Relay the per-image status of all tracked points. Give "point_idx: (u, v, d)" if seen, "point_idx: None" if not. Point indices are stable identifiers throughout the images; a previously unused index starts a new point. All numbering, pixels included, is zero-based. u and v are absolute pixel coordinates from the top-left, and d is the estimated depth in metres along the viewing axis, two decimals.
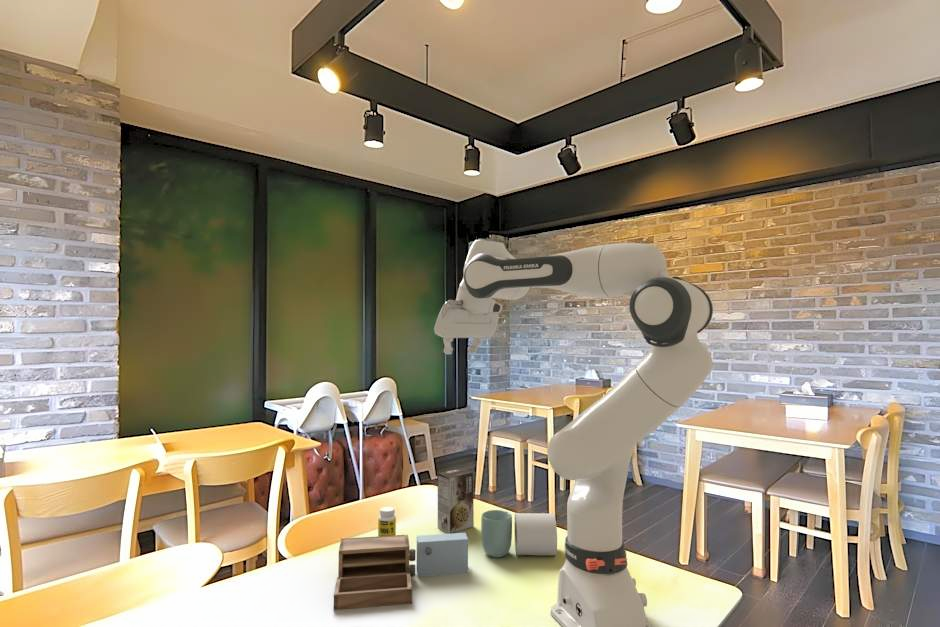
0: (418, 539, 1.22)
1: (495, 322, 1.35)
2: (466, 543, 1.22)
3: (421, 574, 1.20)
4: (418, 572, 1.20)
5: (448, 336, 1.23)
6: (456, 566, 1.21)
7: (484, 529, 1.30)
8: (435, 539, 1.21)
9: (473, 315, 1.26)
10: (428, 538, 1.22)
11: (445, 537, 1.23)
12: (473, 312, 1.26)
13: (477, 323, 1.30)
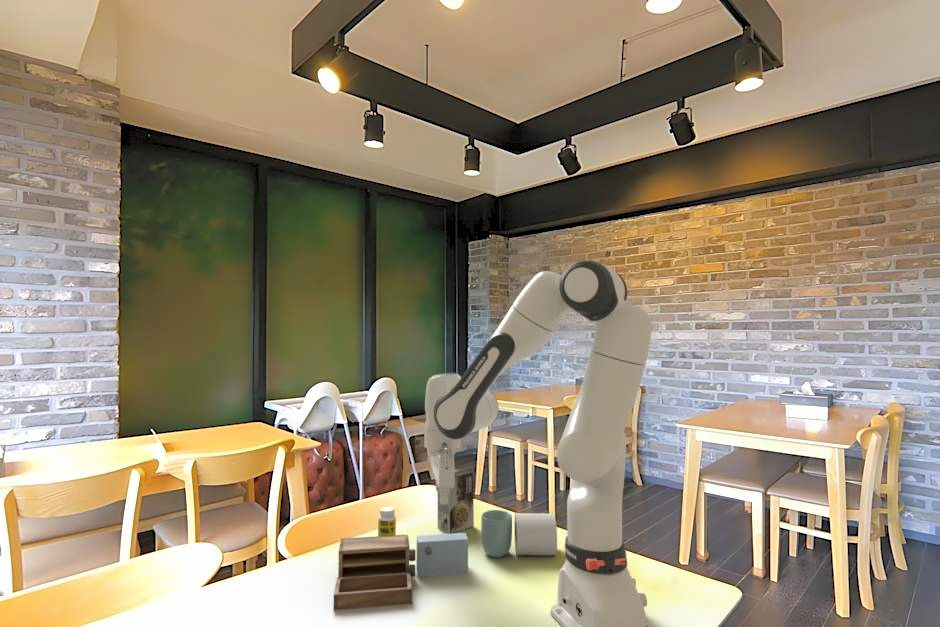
0: (418, 539, 1.22)
1: None
2: (466, 543, 1.22)
3: (421, 574, 1.20)
4: (418, 572, 1.20)
5: None
6: (456, 566, 1.21)
7: (484, 529, 1.30)
8: (435, 539, 1.21)
9: (453, 453, 1.22)
10: (428, 538, 1.22)
11: (445, 537, 1.23)
12: (453, 450, 1.22)
13: None
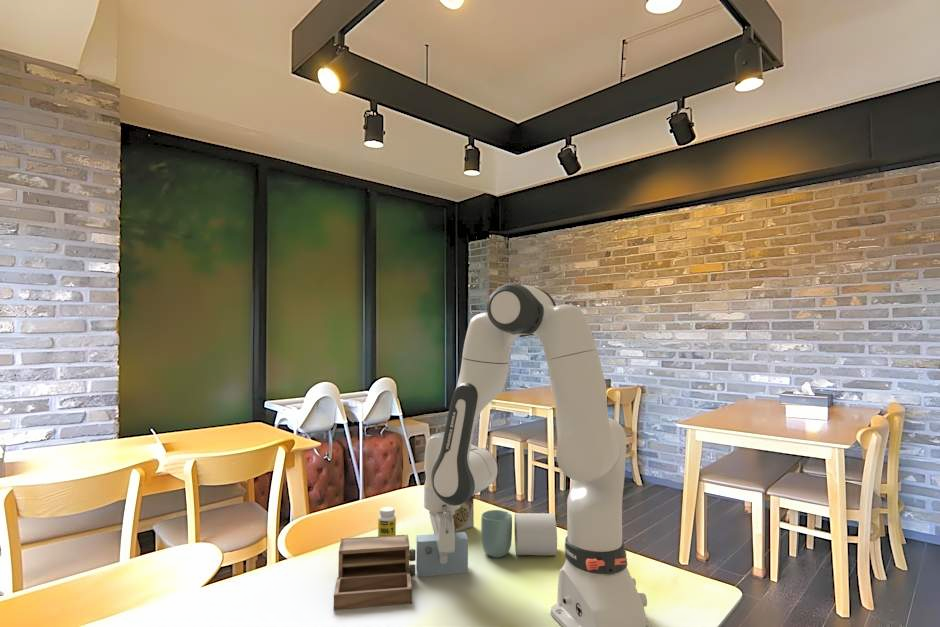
0: (418, 539, 1.22)
1: None
2: (466, 543, 1.22)
3: (421, 574, 1.20)
4: (418, 572, 1.20)
5: None
6: (456, 566, 1.21)
7: (484, 529, 1.30)
8: (435, 539, 1.21)
9: (453, 513, 1.22)
10: (428, 538, 1.22)
11: None
12: (453, 510, 1.22)
13: None
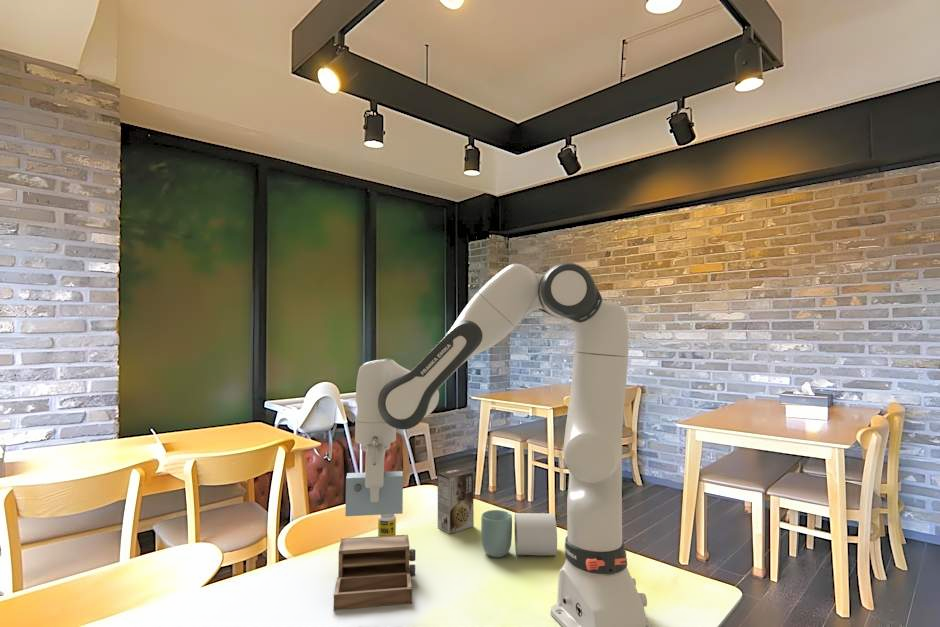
0: (347, 476, 1.10)
1: None
2: (401, 480, 1.10)
3: (349, 513, 1.08)
4: (346, 511, 1.08)
5: None
6: (389, 506, 1.10)
7: (484, 529, 1.30)
8: None
9: (387, 447, 1.10)
10: (359, 475, 1.10)
11: None
12: (387, 444, 1.10)
13: None
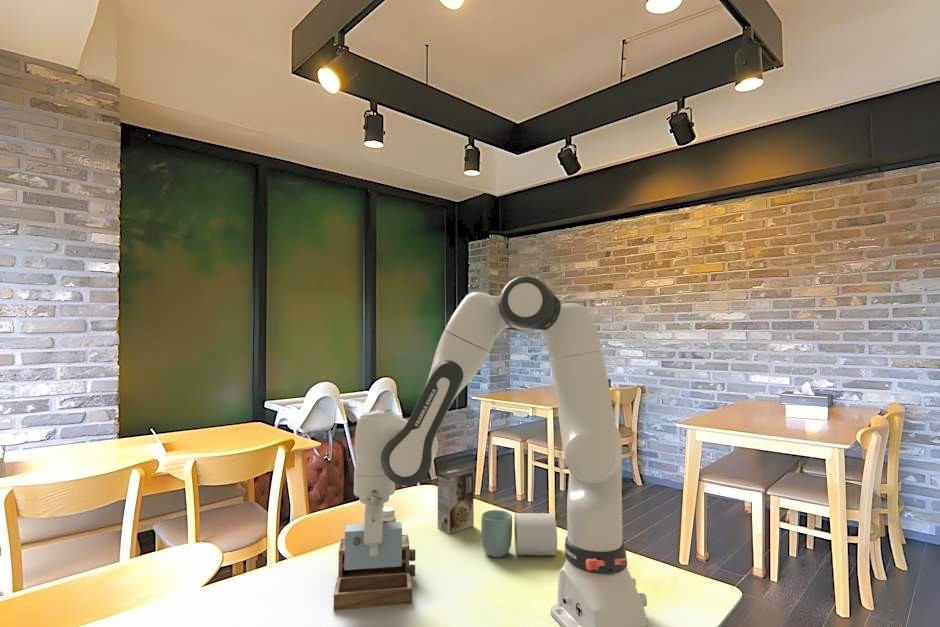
0: (346, 528, 1.09)
1: None
2: (400, 533, 1.10)
3: (348, 567, 1.08)
4: (345, 565, 1.08)
5: None
6: (388, 559, 1.09)
7: (484, 528, 1.30)
8: None
9: (386, 500, 1.10)
10: (358, 528, 1.10)
11: None
12: (386, 496, 1.09)
13: None
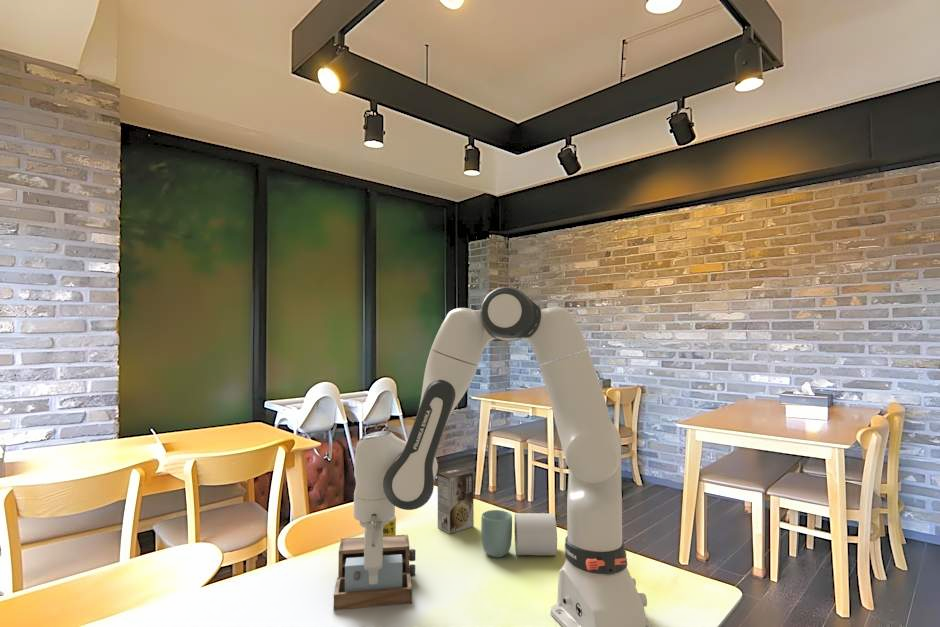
0: (346, 562, 1.09)
1: None
2: (400, 567, 1.09)
3: None
4: None
5: None
6: None
7: (484, 528, 1.30)
8: None
9: (386, 523, 1.09)
10: (358, 561, 1.09)
11: None
12: (386, 519, 1.09)
13: None
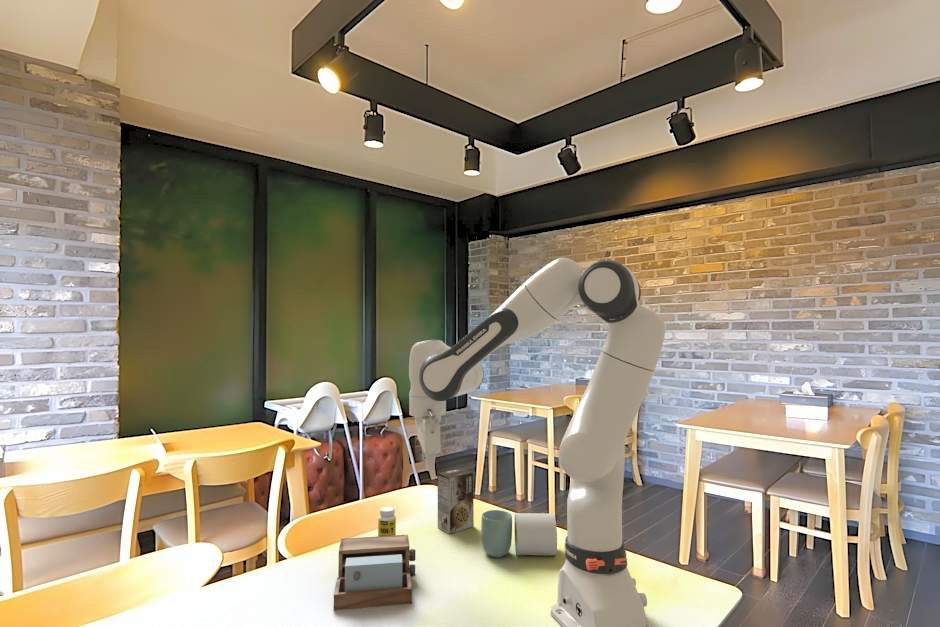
0: (346, 562, 1.09)
1: None
2: (400, 567, 1.09)
3: None
4: None
5: None
6: None
7: (484, 528, 1.30)
8: (365, 562, 1.09)
9: (439, 419, 1.21)
10: (358, 562, 1.09)
11: (377, 559, 1.11)
12: (439, 416, 1.21)
13: None
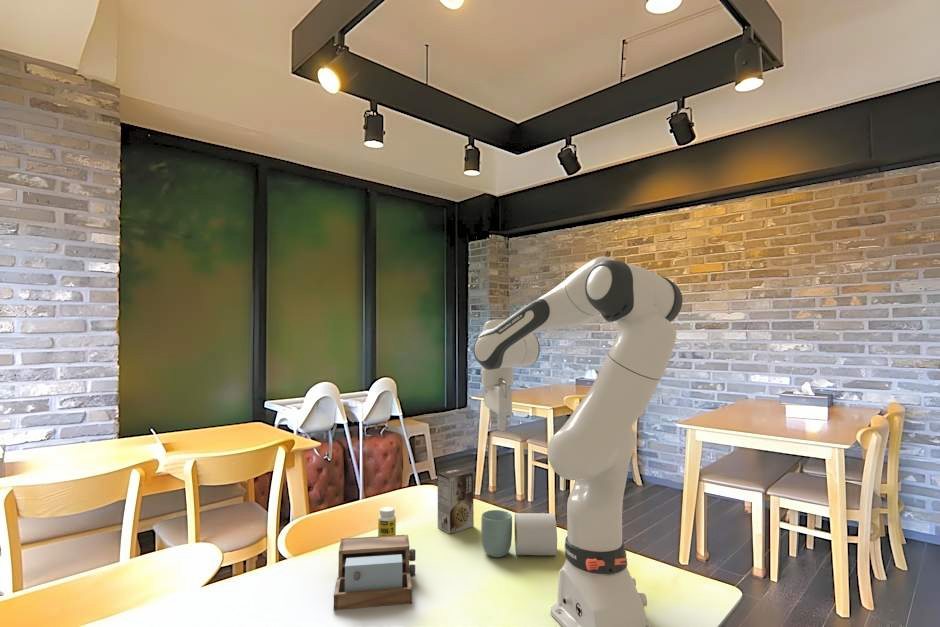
0: (346, 562, 1.09)
1: None
2: (400, 567, 1.09)
3: None
4: None
5: None
6: None
7: (484, 529, 1.30)
8: (365, 562, 1.09)
9: None
10: (358, 562, 1.09)
11: (377, 559, 1.11)
12: (507, 385, 1.40)
13: None
